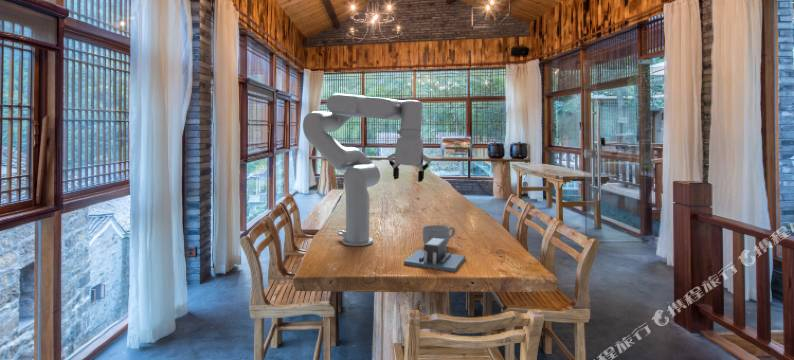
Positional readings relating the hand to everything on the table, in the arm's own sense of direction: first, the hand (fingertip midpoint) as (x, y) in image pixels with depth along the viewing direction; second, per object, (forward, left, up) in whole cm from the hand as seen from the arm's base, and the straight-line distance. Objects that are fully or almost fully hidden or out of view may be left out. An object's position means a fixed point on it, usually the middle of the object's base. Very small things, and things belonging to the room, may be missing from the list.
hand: (408, 180), depth 154 cm
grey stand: (+14, -8, -27) cm, 32 cm away
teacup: (+10, +11, -28) cm, 31 cm away
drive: (+14, -8, -26) cm, 30 cm away
